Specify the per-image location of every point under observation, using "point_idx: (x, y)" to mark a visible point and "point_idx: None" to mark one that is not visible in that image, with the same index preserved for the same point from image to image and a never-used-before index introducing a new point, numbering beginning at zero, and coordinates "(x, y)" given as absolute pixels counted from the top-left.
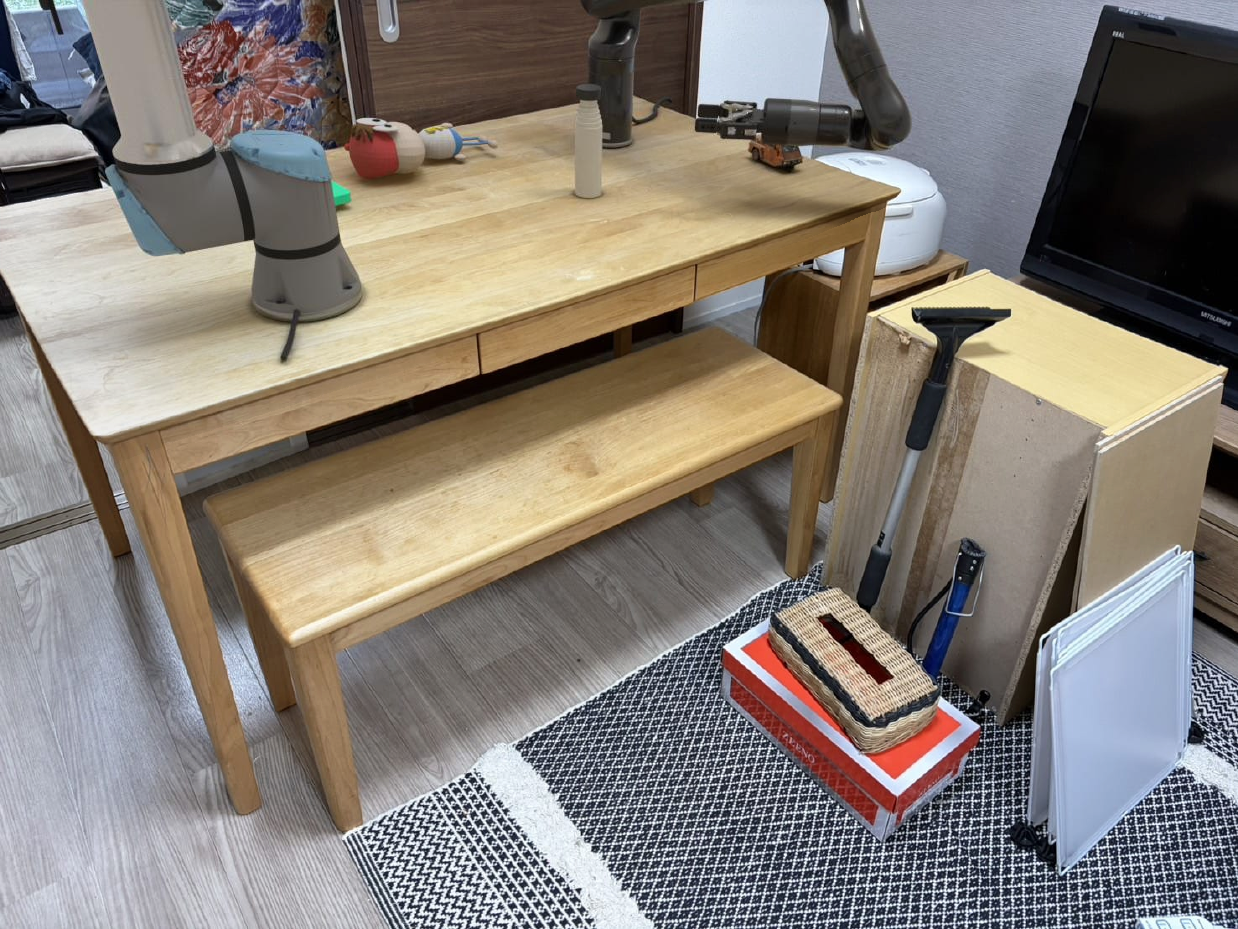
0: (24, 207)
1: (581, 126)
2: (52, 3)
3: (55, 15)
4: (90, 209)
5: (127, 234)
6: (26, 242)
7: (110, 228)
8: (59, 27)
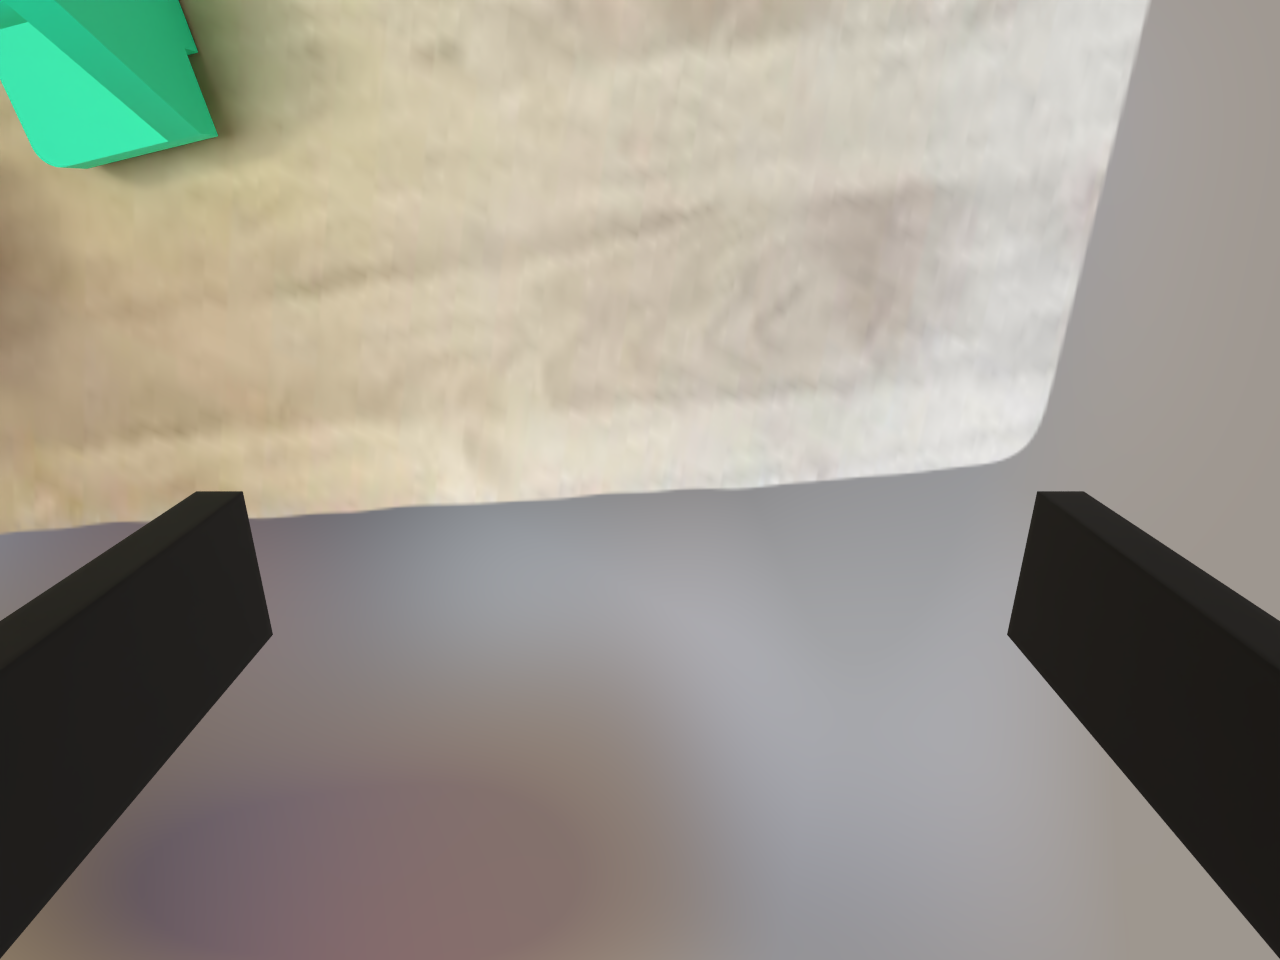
0: (1002, 439)
1: None
2: (1263, 647)
3: (1170, 568)
4: (839, 333)
5: (780, 28)
6: (1075, 117)
7: (818, 120)
8: (1092, 513)
